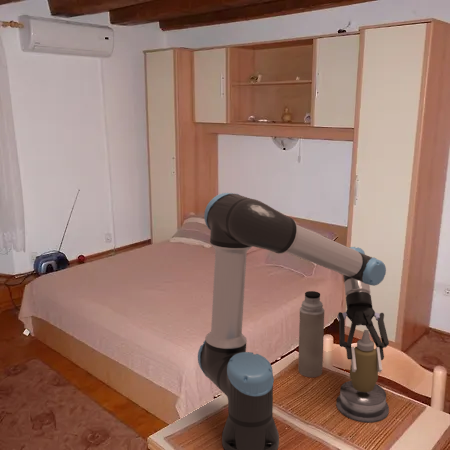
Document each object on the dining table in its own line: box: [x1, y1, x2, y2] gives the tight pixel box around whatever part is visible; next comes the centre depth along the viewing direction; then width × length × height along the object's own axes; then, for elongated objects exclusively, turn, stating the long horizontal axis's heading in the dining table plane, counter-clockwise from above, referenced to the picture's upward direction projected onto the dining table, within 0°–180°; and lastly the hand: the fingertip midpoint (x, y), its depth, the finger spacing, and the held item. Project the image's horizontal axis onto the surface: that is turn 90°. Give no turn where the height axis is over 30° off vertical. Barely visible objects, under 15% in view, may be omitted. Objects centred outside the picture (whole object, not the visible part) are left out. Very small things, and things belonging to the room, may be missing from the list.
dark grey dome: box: [335, 380, 390, 424], centre depth 145 cm, size 15×15×5 cm
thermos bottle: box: [297, 290, 325, 378], centre depth 162 cm, size 8×8×28 cm
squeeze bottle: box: [349, 329, 379, 392], centre depth 142 cm, size 8×8×18 cm
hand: (367, 370), depth 139 cm, fingers closed on squeeze bottle, 6 cm apart
